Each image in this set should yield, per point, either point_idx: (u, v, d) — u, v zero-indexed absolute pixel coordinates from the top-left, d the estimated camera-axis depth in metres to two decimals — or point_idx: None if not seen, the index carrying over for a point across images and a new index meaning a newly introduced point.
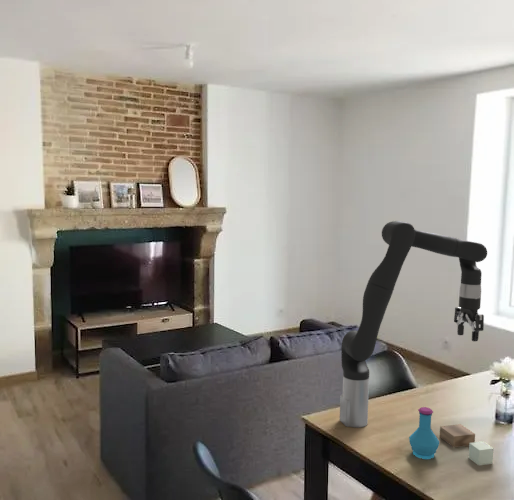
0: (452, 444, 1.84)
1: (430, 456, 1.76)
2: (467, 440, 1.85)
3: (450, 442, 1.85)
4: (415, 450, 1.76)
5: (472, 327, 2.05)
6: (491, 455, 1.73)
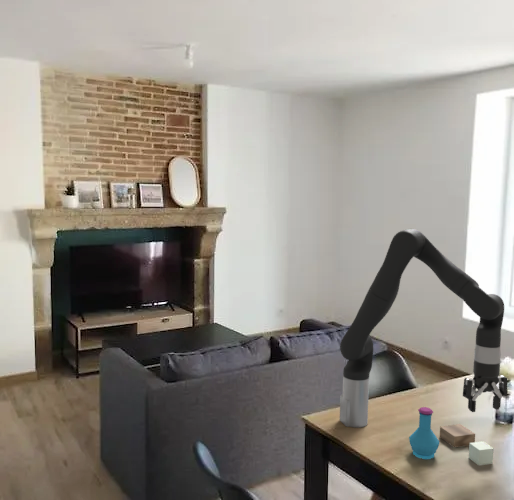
0: (452, 444, 1.84)
1: (430, 456, 1.76)
2: (467, 440, 1.85)
3: (450, 442, 1.85)
4: (415, 450, 1.76)
5: (498, 394, 1.73)
6: (491, 455, 1.73)
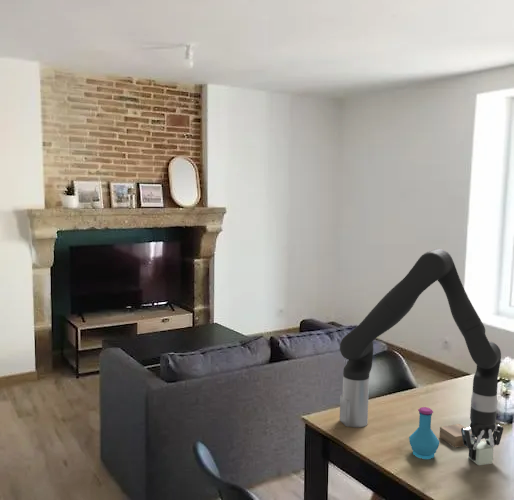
0: (453, 444, 1.84)
1: (430, 456, 1.76)
2: None
3: (451, 442, 1.85)
4: (415, 450, 1.76)
5: (491, 443, 1.74)
6: (491, 455, 1.73)
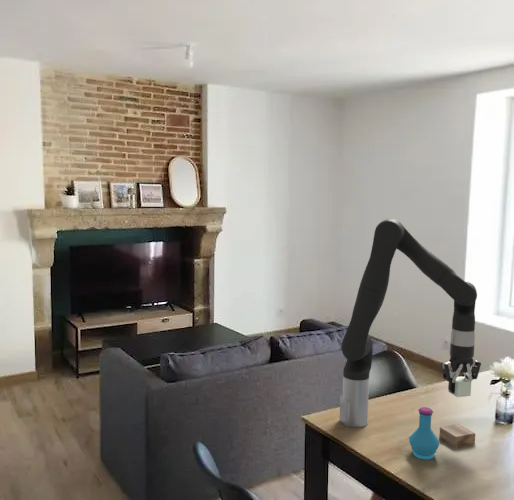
0: (454, 444, 1.84)
1: (430, 456, 1.76)
2: (468, 440, 1.85)
3: (451, 442, 1.85)
4: (415, 450, 1.76)
5: (469, 377, 1.86)
6: (469, 388, 1.84)
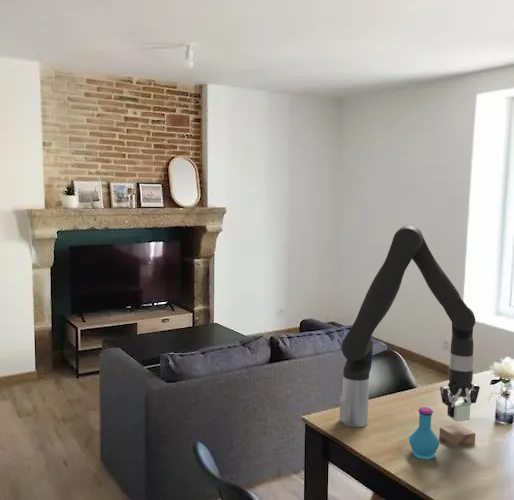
0: (454, 445, 1.84)
1: (430, 456, 1.76)
2: (468, 440, 1.85)
3: (452, 443, 1.85)
4: (415, 450, 1.76)
5: (468, 401, 1.86)
6: (468, 412, 1.85)
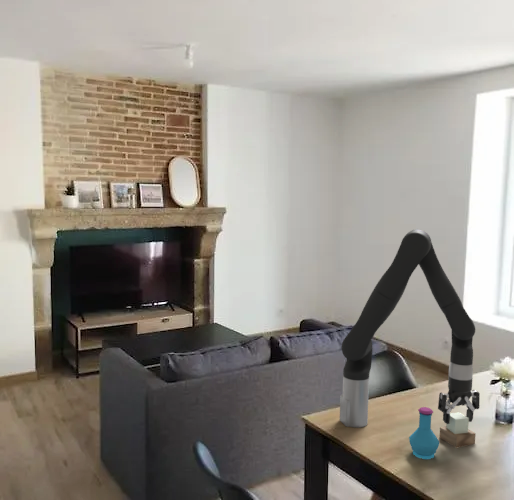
0: (455, 445, 1.84)
1: (430, 456, 1.76)
2: (468, 440, 1.85)
3: (452, 443, 1.85)
4: (415, 450, 1.76)
5: (471, 407, 1.87)
6: (466, 424, 1.86)
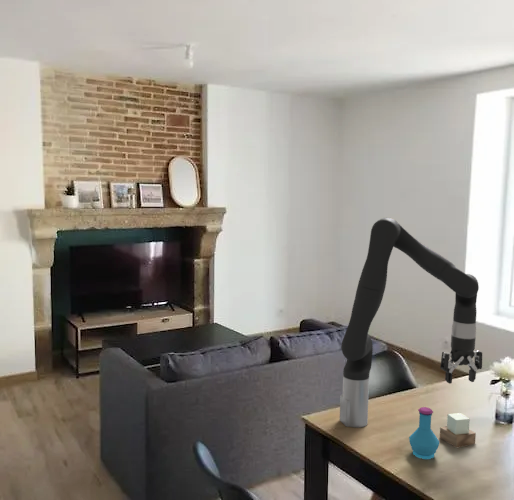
0: (455, 445, 1.84)
1: (430, 456, 1.76)
2: (468, 440, 1.85)
3: (452, 443, 1.85)
4: (415, 450, 1.76)
5: (474, 367, 1.86)
6: (467, 425, 1.86)
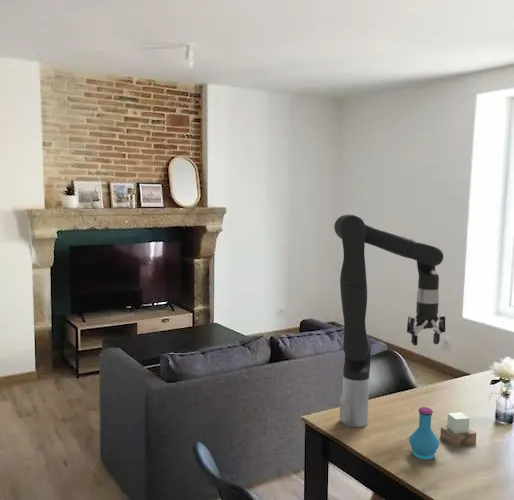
0: (455, 444, 1.84)
1: (430, 456, 1.76)
2: (469, 440, 1.85)
3: (453, 442, 1.85)
4: (415, 450, 1.76)
5: (437, 330, 2.03)
6: (467, 424, 1.86)
